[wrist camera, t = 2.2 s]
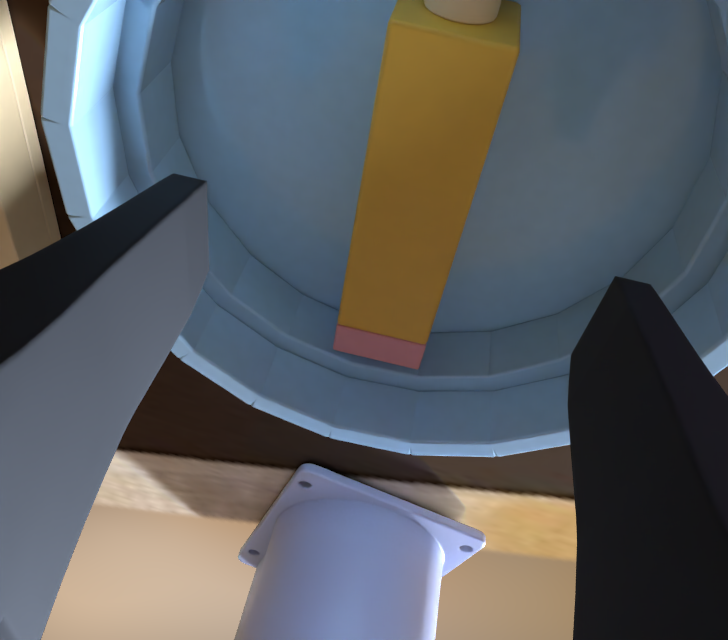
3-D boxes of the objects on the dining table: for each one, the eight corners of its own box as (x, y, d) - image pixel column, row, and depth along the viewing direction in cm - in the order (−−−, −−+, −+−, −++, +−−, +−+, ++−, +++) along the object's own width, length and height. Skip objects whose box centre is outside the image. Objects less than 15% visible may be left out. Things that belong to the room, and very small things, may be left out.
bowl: (522, 403, 21) (520, 518, 18) (103, 218, 19) (25, 314, 16) (965, -13, 11) (1110, 89, 8) (221, -485, 9) (81, -561, 6)
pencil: (428, 311, 18) (418, 370, 16) (349, 292, 18) (331, 350, 16) (553, -97, 11) (556, -61, 9) (424, -125, 11) (406, -93, 10)
